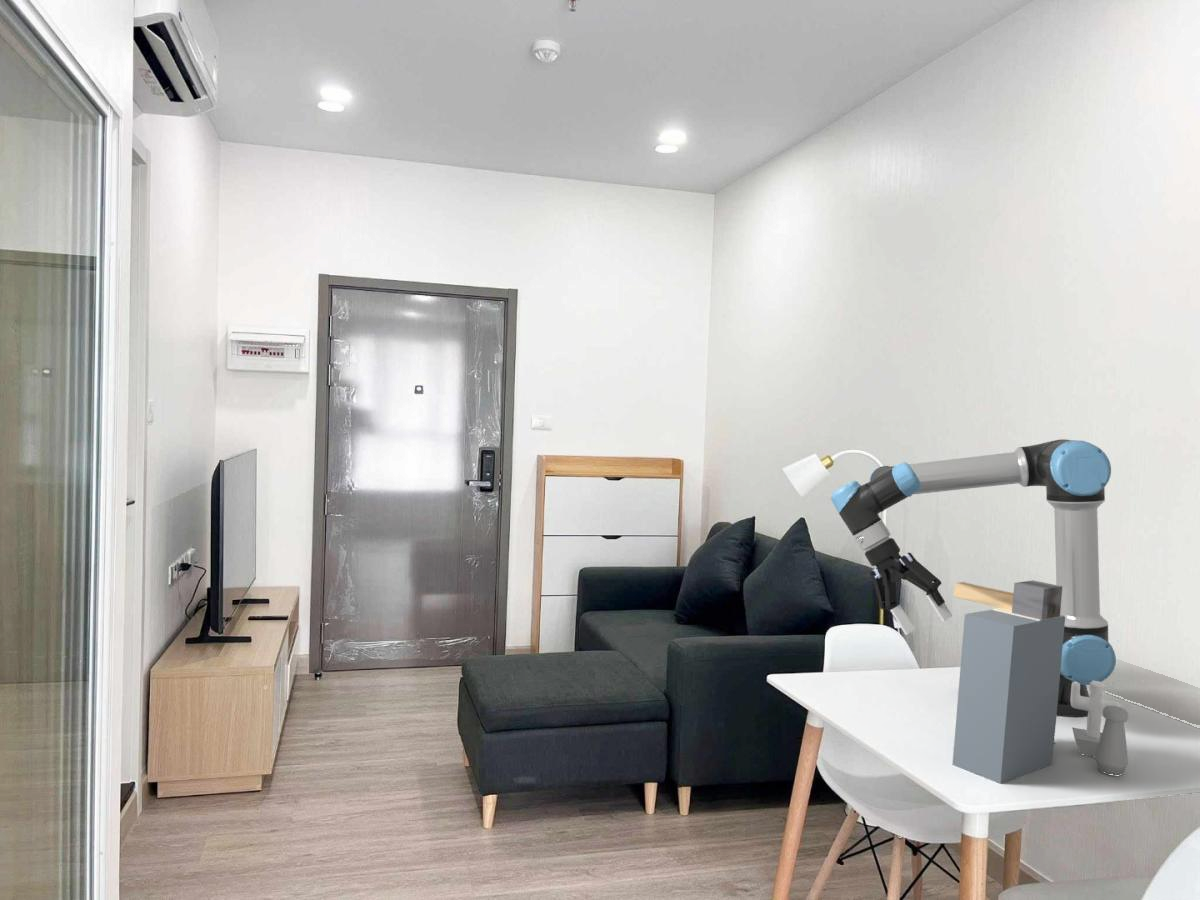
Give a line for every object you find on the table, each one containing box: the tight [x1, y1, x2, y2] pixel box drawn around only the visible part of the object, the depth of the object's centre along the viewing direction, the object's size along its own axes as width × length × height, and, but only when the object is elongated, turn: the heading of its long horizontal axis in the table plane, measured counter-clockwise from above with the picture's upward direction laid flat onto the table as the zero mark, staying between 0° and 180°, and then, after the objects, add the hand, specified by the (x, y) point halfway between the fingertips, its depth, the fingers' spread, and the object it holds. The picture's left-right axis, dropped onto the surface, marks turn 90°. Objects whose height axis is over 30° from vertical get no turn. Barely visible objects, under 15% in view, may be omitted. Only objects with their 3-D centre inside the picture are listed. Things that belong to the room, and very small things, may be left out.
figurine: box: [1070, 681, 1122, 757], centre depth 190 cm, size 7×9×15 cm
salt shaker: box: [1094, 706, 1129, 776], centre depth 180 cm, size 6×6×13 cm
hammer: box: [953, 580, 1063, 620], centre depth 185 cm, size 7×20×6 cm, turn 36°
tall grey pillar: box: [952, 607, 1065, 785], centre depth 180 cm, size 19×10×30 cm, turn 126°
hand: (928, 625), depth 208 cm, fingers open, 13 cm apart
